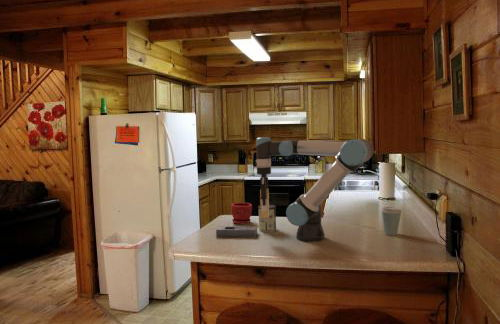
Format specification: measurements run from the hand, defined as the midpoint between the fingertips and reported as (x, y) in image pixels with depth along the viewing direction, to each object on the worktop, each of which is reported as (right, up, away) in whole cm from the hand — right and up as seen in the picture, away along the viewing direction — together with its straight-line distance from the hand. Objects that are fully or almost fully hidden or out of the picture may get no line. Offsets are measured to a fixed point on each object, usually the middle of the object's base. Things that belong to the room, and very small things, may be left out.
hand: (264, 210), depth 226 cm
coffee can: (+2, -14, +23) cm, 28 cm away
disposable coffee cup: (+70, -14, +7) cm, 71 cm away
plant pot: (-13, -13, +44) cm, 47 cm away
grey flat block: (-15, -15, +13) cm, 25 cm away
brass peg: (0, -4, 0) cm, 4 cm away
